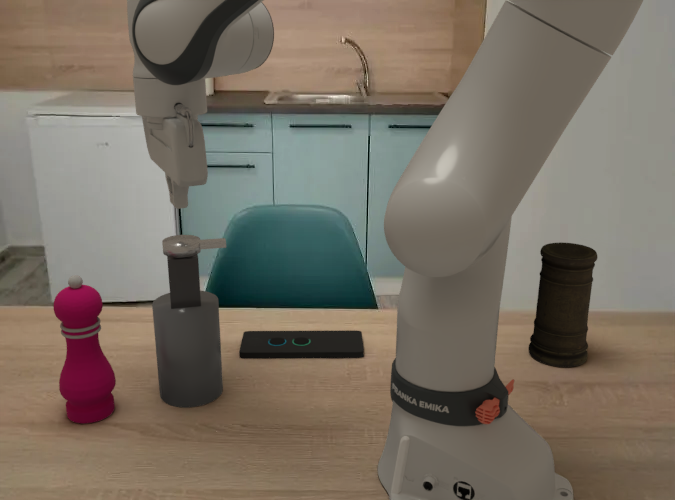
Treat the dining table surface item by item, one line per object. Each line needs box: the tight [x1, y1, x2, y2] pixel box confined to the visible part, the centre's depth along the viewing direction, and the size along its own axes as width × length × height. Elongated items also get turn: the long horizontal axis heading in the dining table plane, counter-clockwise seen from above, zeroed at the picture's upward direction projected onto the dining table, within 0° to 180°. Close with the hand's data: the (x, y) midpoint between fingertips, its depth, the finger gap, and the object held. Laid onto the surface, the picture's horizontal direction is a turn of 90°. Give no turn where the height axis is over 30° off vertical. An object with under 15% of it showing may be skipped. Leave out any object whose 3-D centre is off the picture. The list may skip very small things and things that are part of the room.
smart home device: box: [238, 330, 365, 360], centre depth 114 cm, size 8×2×20 cm
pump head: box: [161, 234, 227, 258], centre depth 95 cm, size 8×5×9 cm, turn 104°
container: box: [528, 242, 598, 368], centre depth 110 cm, size 9×9×18 cm
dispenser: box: [151, 253, 224, 409], centre depth 97 cm, size 9×9×21 cm
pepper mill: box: [53, 274, 117, 424], centre depth 92 cm, size 7×7×20 cm
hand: (179, 205), depth 92 cm, fingers closed
